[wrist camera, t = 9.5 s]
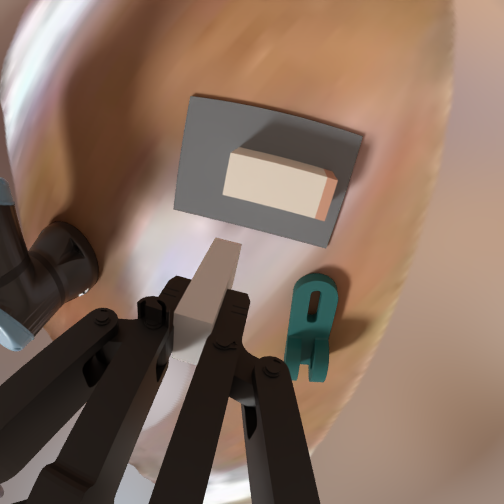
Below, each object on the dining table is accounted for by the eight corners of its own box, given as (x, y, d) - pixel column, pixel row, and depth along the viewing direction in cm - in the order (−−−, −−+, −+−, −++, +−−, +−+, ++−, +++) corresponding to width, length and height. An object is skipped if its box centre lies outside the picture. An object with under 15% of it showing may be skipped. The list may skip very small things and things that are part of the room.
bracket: (320, 356, 50) (321, 389, 43) (284, 353, 51) (281, 387, 44) (340, 274, 42) (347, 307, 35) (295, 270, 42) (294, 303, 35)
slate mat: (174, 208, 40) (173, 209, 40) (191, 96, 33) (190, 96, 32) (325, 246, 40) (325, 248, 39) (361, 136, 32) (362, 136, 32)
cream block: (222, 194, 33) (324, 221, 32) (230, 152, 30) (337, 180, 30) (231, 184, 37) (321, 207, 37) (239, 147, 35) (332, 171, 34)
